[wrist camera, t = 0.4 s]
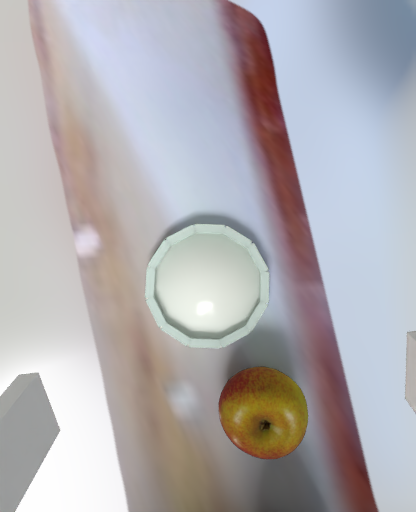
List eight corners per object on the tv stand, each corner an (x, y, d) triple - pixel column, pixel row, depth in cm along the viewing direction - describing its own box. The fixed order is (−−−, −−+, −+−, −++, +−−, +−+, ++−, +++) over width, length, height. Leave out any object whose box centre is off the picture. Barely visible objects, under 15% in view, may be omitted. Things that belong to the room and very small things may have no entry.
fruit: (212, 432, 41) (212, 464, 33) (224, 355, 42) (226, 368, 34) (293, 446, 41) (312, 481, 33) (302, 368, 42) (323, 384, 34)
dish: (289, 310, 43) (292, 311, 41) (181, 368, 42) (180, 371, 40) (232, 206, 44) (232, 202, 43) (127, 260, 44) (124, 258, 42)
